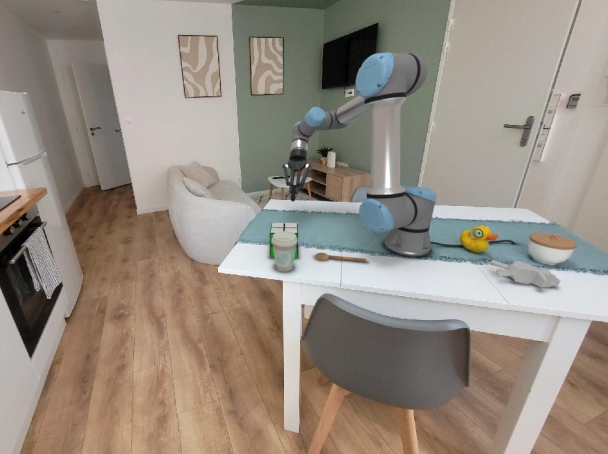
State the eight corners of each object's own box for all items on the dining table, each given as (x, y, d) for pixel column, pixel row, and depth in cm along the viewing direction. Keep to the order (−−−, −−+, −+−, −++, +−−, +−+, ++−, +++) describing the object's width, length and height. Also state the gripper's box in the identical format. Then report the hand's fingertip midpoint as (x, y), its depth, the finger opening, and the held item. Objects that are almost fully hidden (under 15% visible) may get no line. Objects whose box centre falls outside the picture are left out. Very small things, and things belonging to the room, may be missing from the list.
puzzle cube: (297, 246, 114) (297, 222, 110) (297, 258, 105) (298, 233, 101) (271, 245, 115) (271, 222, 111) (270, 258, 106) (269, 233, 102)
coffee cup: (266, 268, 99) (266, 236, 95) (281, 258, 105) (281, 228, 100) (287, 276, 94) (287, 243, 89) (301, 266, 100) (302, 234, 95)
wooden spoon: (366, 259, 102) (366, 256, 102) (367, 265, 98) (367, 262, 98) (316, 254, 107) (316, 251, 107) (315, 260, 103) (315, 257, 103)
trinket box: (558, 255, 98) (569, 230, 95) (574, 271, 89) (587, 244, 86) (517, 250, 103) (526, 226, 99) (529, 265, 94) (539, 239, 90)
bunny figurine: (569, 281, 78) (503, 267, 83) (559, 296, 80) (495, 282, 85) (551, 264, 86) (491, 252, 91) (542, 278, 88) (484, 266, 93)
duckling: (496, 257, 99) (505, 230, 95) (484, 259, 98) (493, 232, 94) (464, 243, 109) (471, 218, 106) (453, 245, 108) (460, 221, 104)
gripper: (313, 158, 131) (308, 204, 123) (285, 158, 135) (278, 203, 126) (313, 147, 124) (308, 196, 116) (283, 147, 128) (276, 194, 120)
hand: (292, 199), depth 121 cm, fingers closed
